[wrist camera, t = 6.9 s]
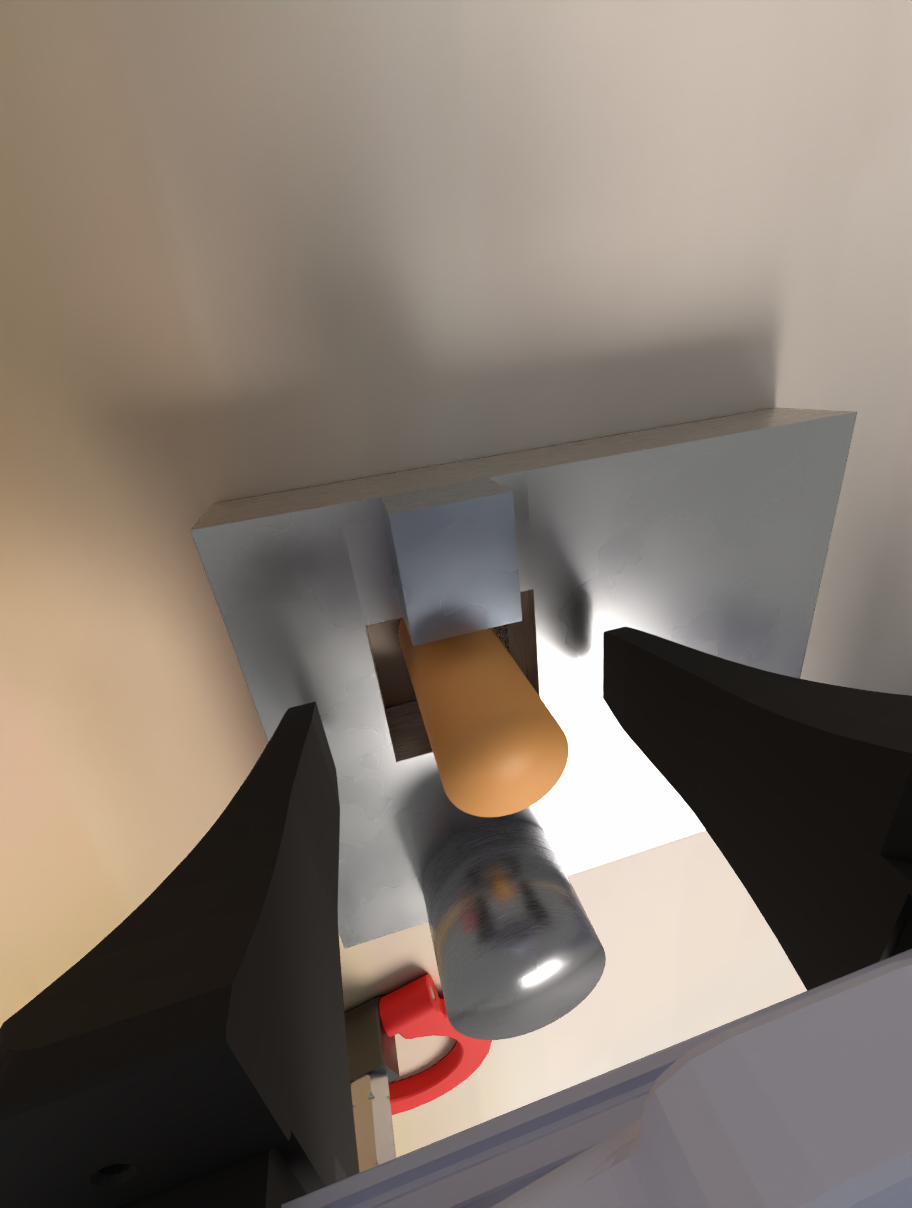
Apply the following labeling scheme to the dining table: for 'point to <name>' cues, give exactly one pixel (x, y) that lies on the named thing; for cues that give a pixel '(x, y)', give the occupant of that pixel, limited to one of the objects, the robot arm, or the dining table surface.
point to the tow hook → (377, 1063)
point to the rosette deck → (521, 661)
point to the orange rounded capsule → (484, 723)
